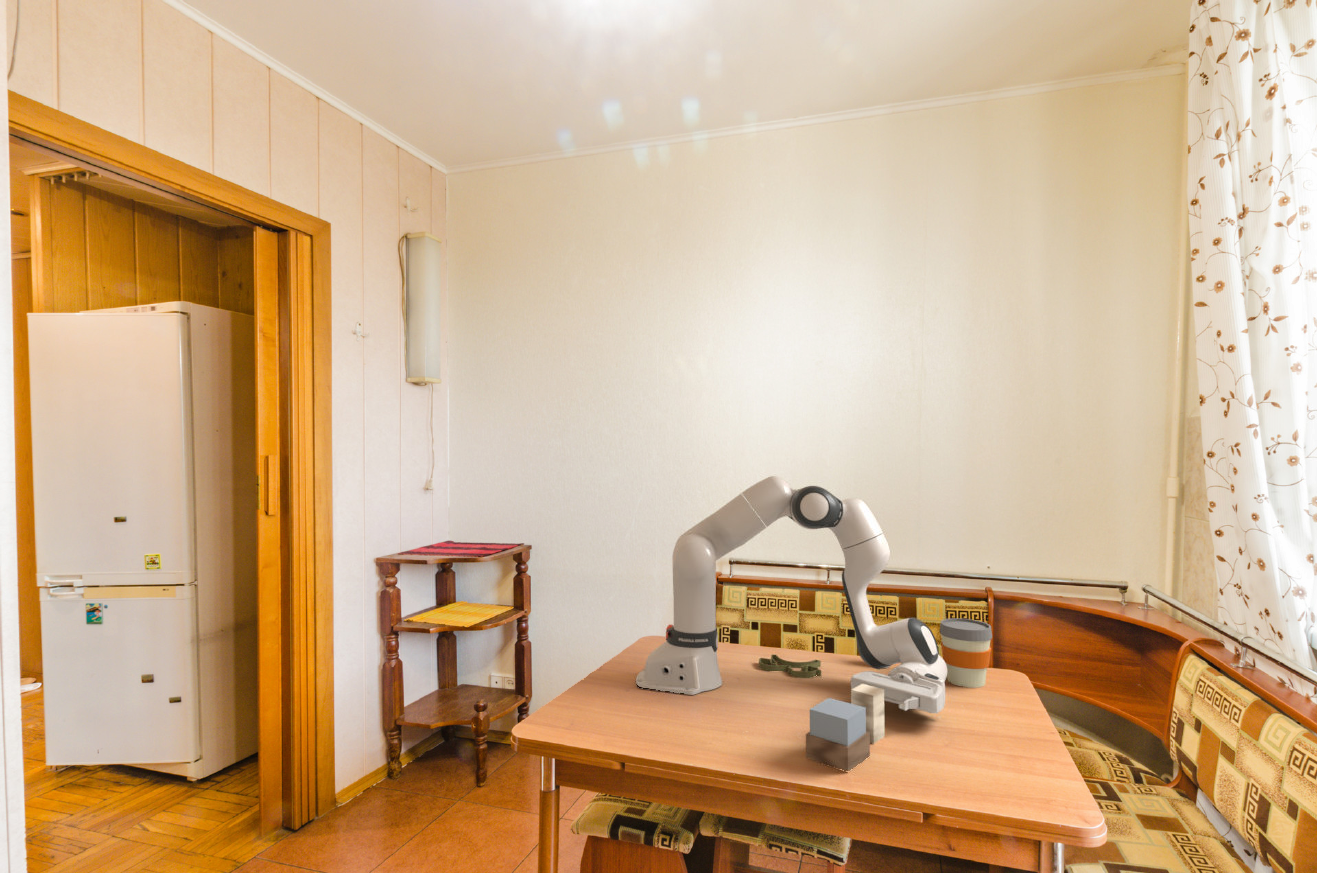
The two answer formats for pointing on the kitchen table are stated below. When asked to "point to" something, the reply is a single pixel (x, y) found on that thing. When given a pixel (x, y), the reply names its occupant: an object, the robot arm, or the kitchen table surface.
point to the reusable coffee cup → (966, 651)
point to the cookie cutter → (791, 666)
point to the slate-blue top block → (838, 721)
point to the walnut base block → (838, 751)
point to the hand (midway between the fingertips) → (881, 700)
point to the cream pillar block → (871, 709)
